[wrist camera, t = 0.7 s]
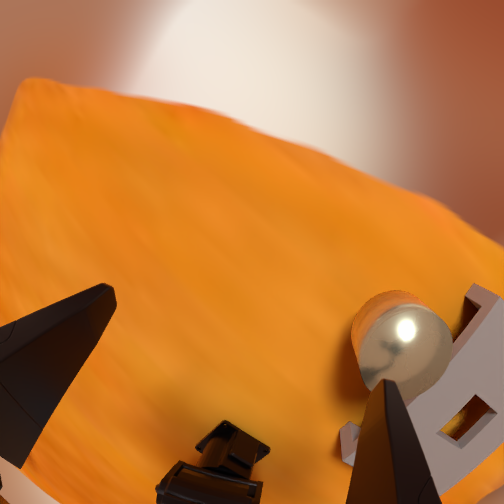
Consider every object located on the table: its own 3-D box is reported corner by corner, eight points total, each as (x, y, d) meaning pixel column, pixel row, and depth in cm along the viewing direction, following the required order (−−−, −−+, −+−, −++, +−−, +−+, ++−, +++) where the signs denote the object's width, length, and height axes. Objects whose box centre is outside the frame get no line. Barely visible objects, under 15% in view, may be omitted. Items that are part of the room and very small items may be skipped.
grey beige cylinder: (381, 359, 26) (404, 414, 18) (330, 321, 27) (339, 369, 18) (426, 306, 25) (469, 345, 16) (377, 264, 26) (409, 289, 17)
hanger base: (424, 475, 27) (432, 501, 22) (339, 429, 28) (342, 460, 23) (536, 359, 23) (558, 376, 18) (473, 283, 24) (500, 296, 19)
